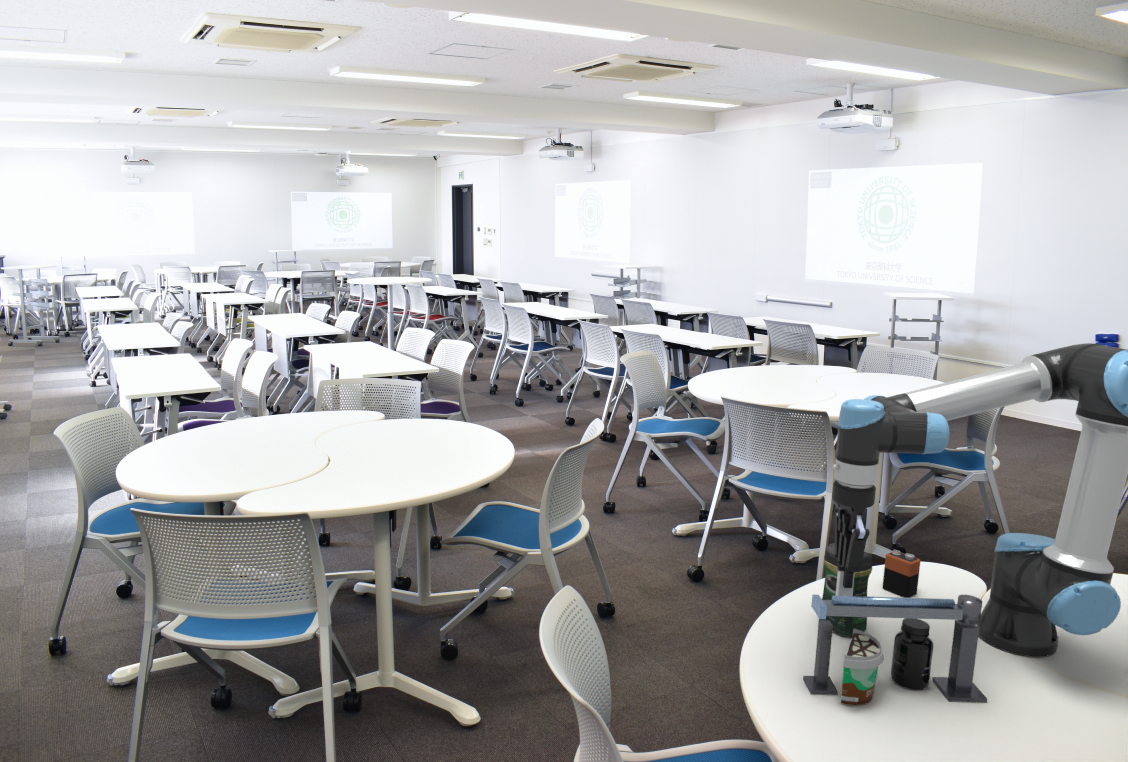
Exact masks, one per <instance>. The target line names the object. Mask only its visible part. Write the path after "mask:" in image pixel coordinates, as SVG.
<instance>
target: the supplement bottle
mask: <svg viewBox="0 0 1128 762" xmlns="http://www.w3.org/2000/svg"><path fill="white" fill-rule="evenodd" d="M902 619H903V620H902V621H901V626H900V631H898V632H897V633H896V634H895V635H894V640H893V641H894V642H893V649H892V659H891V667H890V668H891V669H890V678H891V679H892V681H893V682H894V684H896V685H898V686H899V687H902V688H904V689H907V690H912V691H923V690H925V689H927V688H928V686H929V685H930V679H931V678H930V677H931V670H932V662H933V653H934V642H933V640H932V639H931V638H930V629H931V626H930V624H929V623H928V622H926V621H924V619H911V618H902Z"/></svg>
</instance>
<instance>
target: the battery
mask: <svg viewBox="0 0 1128 762" xmlns="http://www.w3.org/2000/svg"><path fill="white" fill-rule="evenodd" d="M920 567H921V559H919V558H918V557H915V555H914V554H912V553H903V552H901V551H900V550H897V549H893V550H892V552H889V553H886V554H885V559H884V569H883V577H882V578H883V579H882V589H883V590H885V591H887V592H890V593H892V594H895V595H897V596H899V595H900V596H899V597H901V598H913V597H914V596H916V595H917V594H918V587H919V577H920V569H921V568H920Z"/></svg>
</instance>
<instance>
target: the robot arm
mask: <svg viewBox="0 0 1128 762" xmlns="http://www.w3.org/2000/svg"><path fill="white" fill-rule="evenodd" d="M1033 400H1035V401H1036V402H1039V403H1045V402H1049V401H1055V400H1067V401H1068V400H1069V401H1076V402H1077V405H1076V410H1075V413H1074V415H1075V417H1076V418H1077V419H1078V421H1079V423H1081V430H1080V435H1079V439H1078V443H1077V448H1076V451H1075V456H1074V458H1073V459H1074V461H1073V462H1072V463H1073V464H1072V467H1071V472H1070V473H1071V474H1070V475H1069V476H1070V477H1069V481H1068V485H1067V490H1066V494H1065V498H1064V502H1063V505H1062V510H1061V513H1060V519H1059V522H1058V527H1057V530H1056V535H1055V538H1053V537H1048V536H1045V535H1041V534H1033V533H1024V532H1008V533H1003V534H1002V535H1000V536H998V537H997V541H996V545H995V549H994V559H993V567H992V573H991V574H992V575H991V583H990V592H989V598H988V601H987V602H986V604H985V606H984V607H983V609H982V610H981V617H980V623H979V624H977V625H976V626H977V627H978V628H979V635H978V638H980V639H982V640H983V641H984V642H985V643H987V644H988V645H990V646H992V647H994V648H996V649H999V650H1002V651H1004V652H1007V653H1011V654H1013V655H1014V654H1015V655H1018V656H1023V657H1031V658H1042V657H1043V658H1044V657H1050V656H1052V655H1054V654H1056V653H1057V650H1058V646H1059V635H1058V632H1057V627H1059V628H1061V629H1062V630H1064V631H1065V632H1067V633H1069V634H1071V635H1075V636H1090V635H1093V634H1098V633H1100V632H1101V631H1102V630H1103V629H1107V628H1108V627H1109V626H1110V625H1112V624H1113V623H1114V621H1115V620H1116V619H1117V617H1118V616H1119V613H1120V611H1121V606H1122V605H1121V603H1122V601H1121V597H1120V595H1119V594H1118V592H1117V590H1116V588H1114V587H1113V586H1112V585H1111V584H1112V579H1113V577H1114V576H1113V575H1114V570H1115V568H1114V566H1113V565H1112V563H1111V562H1110V560H1109V559H1108V553H1109V549H1110V546H1111V542H1112V537H1113V533H1114V530H1115V526H1116V522H1117V519H1118V514H1119V511H1120V506H1121V503H1122V498H1123V495H1124V491H1125V487H1126V482H1127V478H1128V348H1127V349H1126V348H1120V347H1115V346H1114V347H1113V346H1109V345H1105V344H1100V343H1093V342H1089V343H1079V344H1078V343H1077V344H1072V345H1068V346H1063V347H1059V348H1058V347H1057V348H1054V349H1049V350H1046V351H1043V352H1038V353H1034V354H1031V355H1026V356H1025V357H1024V358H1023V360H1022V361H1021V363H1017V364H1014V365H1013V364H1012V365H1009V366H1005V367H1002V368H998V369H993V370H990V371H986V372H981V373H978V374H975V375H971V376H967V377H962V378H959V379H955V380H950V381H946V382H943V383H940V384H935V385H932V386H928V387H927V386H926V387H924V388H920V389H915V390H913V391H908V392H905V393H900V394H896V395H890V396H888V397H887V396H883V395H876V394H872V395H869V396H866V397H865V398H864V399H862V398H851V399H846V400H844V401H843V402H842V404H841V406H840V409H839V415H838V421H837V438H836V453H835V462H834V463H835V464H832V466H831V467H832V470H834V473H833V475H834V476H833V477H834V479H835V480H834V481H833V483H832V492H831V494H832V495H831V498H832V501H833V502H834V503H835V504H837V505H839V507H838V506H837V507H836V506H835V507H834V508H833V513H834V543H835V555H834V556H835V559H838V560H837V564H838V566H839V567H838V574H837V585H836V596H853V586H854V576H855V572H860V569H861V565H862V560H863V555H864V552H865V550H866V545H867V540H868V539H869V536H870V533H871V532H870V528H865V524H866V514H865V510H866V509H868V508H871V507H873V506H874V504H875V502H876V501H875V499H876V490H877V488H876V486H875V485H876V484H877V482H878V475H879V474H878V473H879V464H880V463H879V461H880V454H881V453H885V454H886V453H887V454H888V453H889V454H890V453H891V454H894V453H895V454H922V455H926V454H929V455H930V454H940V453H942V452H943V451H944V450H945V449H946V448H947V446H948V444H949V440H950V427H949V423H948V422H949V421H952V420H956V419H960V418H964V417H965V418H966V417H968V416H972V415H976V414H980V413H984V412H988V411H992V410H995V409H1001V408H1004V407H1005V408H1006V407H1007V406H1013V405H1016V404H1020V403H1023V402H1028V401H1033Z"/></svg>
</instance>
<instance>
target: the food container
mask: <svg viewBox="0 0 1128 762" xmlns="http://www.w3.org/2000/svg"><path fill="white" fill-rule="evenodd" d="M851 637H852V638H851V641H850V643H849V646H848V649H847V652H846V655H845V654H844V657H843V663H842V665H843V666H842V668H843V671H842V682H841V683H842V685H841V694H840V695H841V696H840V704H842V705H846V706H864V705H865V706H866V705H867V704H870V703H871V701H873V698H874V694H875V693H874V691H875V688H876V684H877V682H876V681H877V678H878V677H877V676H878V672H879V666H881V665H882V664H883V663H884V660H885V656H884V650H883V647H882V645H881V643H880V641H879V640H878V639H877V638H876V637H875V636H873V635H871V634H870V633H868V632H866V631H865V632H863V631H860V630H857V629H853V636H851Z"/></svg>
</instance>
